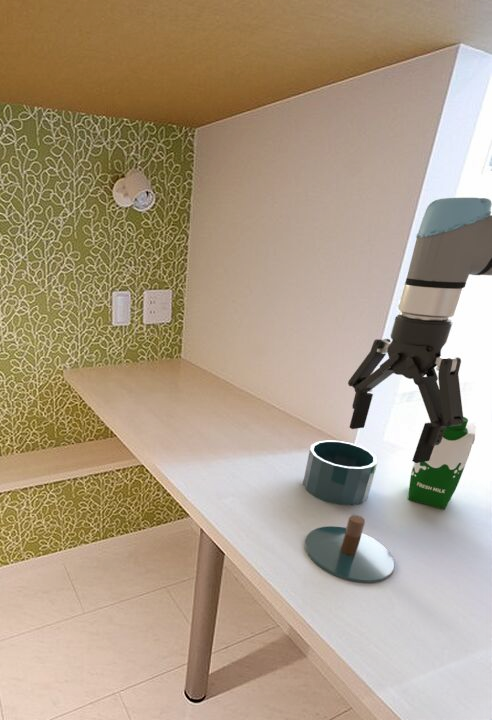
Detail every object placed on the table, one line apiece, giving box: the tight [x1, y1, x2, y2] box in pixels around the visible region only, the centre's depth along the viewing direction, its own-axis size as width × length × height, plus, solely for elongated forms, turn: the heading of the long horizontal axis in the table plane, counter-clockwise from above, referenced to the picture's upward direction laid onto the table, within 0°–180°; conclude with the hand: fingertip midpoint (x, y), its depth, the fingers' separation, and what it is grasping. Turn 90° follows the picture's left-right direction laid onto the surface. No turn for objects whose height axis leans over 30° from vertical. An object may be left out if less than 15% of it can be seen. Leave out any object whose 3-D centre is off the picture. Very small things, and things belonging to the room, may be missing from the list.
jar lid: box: [304, 514, 395, 584], centre depth 77 cm, size 15×15×8 cm
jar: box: [302, 439, 378, 506], centre depth 97 cm, size 14×14×10 cm
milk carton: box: [407, 416, 476, 510], centre depth 93 cm, size 9×9×20 cm
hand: (386, 443), depth 74 cm, fingers open, 13 cm apart
